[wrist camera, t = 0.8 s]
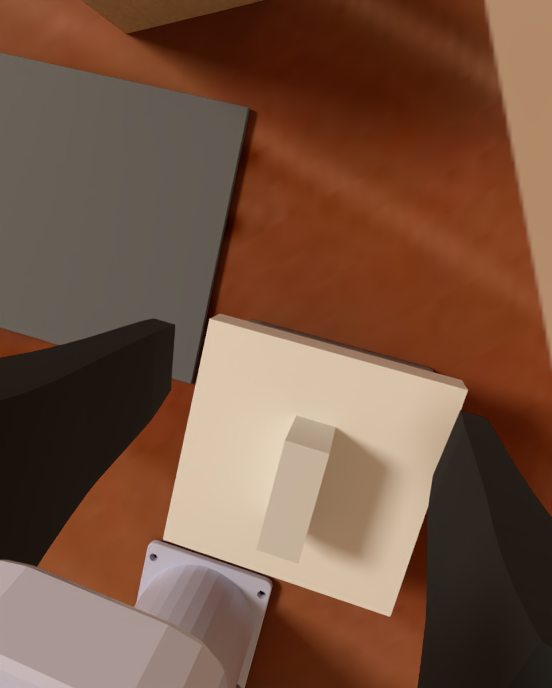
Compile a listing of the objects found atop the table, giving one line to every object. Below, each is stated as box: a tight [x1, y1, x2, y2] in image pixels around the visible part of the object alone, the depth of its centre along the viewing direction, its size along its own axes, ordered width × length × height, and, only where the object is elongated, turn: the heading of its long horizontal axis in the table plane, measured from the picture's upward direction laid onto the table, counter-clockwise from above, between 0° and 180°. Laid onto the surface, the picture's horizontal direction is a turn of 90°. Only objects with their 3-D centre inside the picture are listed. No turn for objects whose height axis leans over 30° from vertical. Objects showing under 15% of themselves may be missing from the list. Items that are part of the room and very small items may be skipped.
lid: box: [163, 314, 468, 617], centre depth 23 cm, size 11×11×5 cm
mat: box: [0, 53, 250, 384], centre depth 29 cm, size 15×15×1 cm
